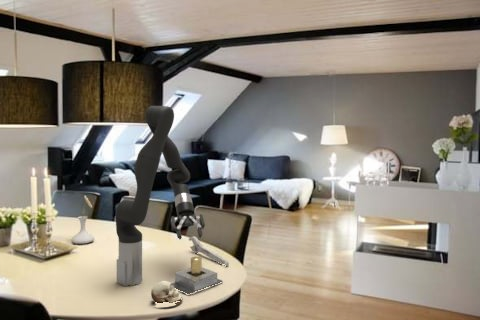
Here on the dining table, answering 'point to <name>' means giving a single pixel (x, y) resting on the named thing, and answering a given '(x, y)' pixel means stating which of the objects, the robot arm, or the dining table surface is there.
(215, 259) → the wrench
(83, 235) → the flower in vase
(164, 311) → the dining table surface
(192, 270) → the brass fitting
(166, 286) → the skull
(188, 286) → the grey square holder
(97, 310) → the dining table surface
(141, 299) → the dining table surface
